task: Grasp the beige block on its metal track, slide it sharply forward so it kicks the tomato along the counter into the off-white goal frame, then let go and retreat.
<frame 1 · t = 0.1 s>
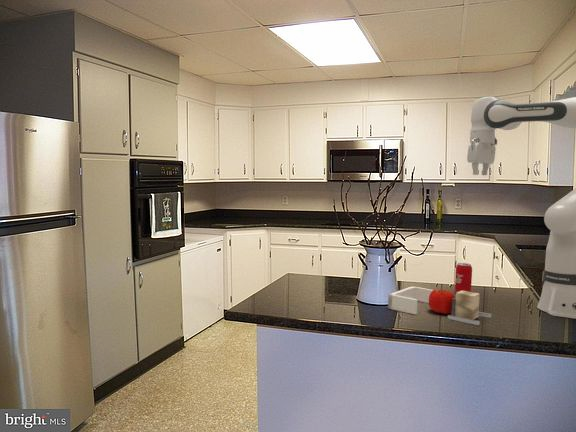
hand: (480, 175, 187), 48 cm above the counter, fingers open, 8 cm apart
beige block: (466, 304, 160), point 4 cm above the counter, slide at 0.0 cm
goal: (414, 306, 173), on the counter
track: (469, 318, 160), on the counter
beverage can: (462, 293, 194), on the counter
tomato: (440, 312, 166), on the counter
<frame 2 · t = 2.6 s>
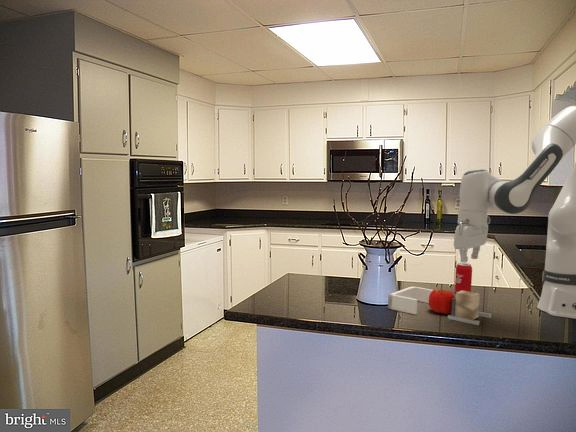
hand: (469, 260, 159), 19 cm above the counter, fingers open, 8 cm apart
nothing on the counter moved.
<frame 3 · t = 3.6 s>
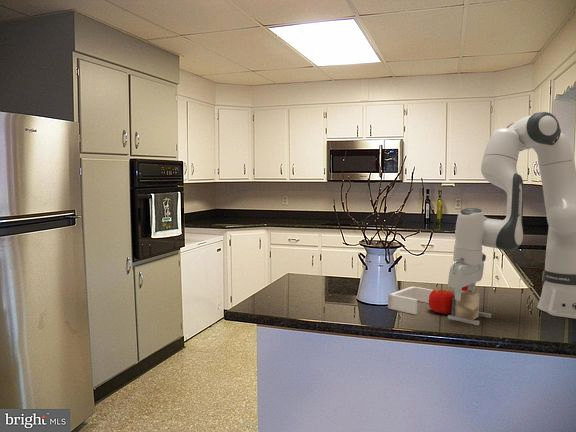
hand: (464, 297, 161), 7 cm above the counter, fingers open, 8 cm apart
nothing on the counter moved.
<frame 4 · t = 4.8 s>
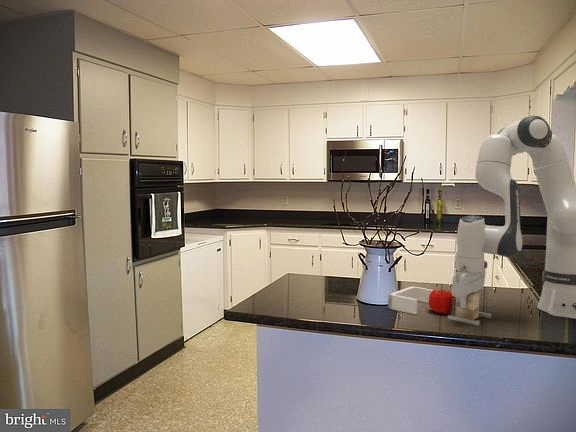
hand: (467, 305, 160), 4 cm above the counter, fingers closed on beige block, 5 cm apart
beige block: (466, 304, 160), point 4 cm above the counter, slide at 0.0 cm, touching gripper
everything else where it was.
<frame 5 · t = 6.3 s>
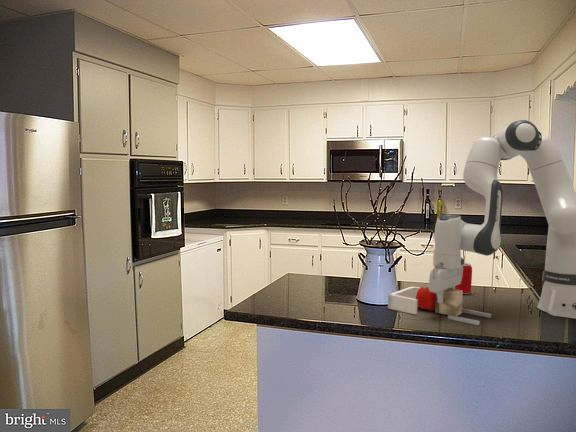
hand: (444, 301, 165), 4 cm above the counter, fingers closed on beige block, 5 cm apart
beige block: (449, 301, 164), point 4 cm above the counter, slide at 5.7 cm, touching gripper, tomato
tomato: (427, 309, 170), on the counter, touching beige block
everything else where it was.
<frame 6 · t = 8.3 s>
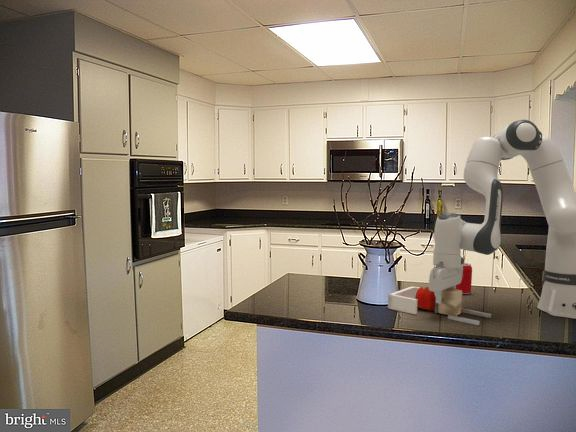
hand: (444, 300, 165), 4 cm above the counter, fingers open, 8 cm apart
beige block: (448, 301, 164), point 4 cm above the counter, slide at 5.9 cm
tomato: (427, 309, 170), on the counter
everything else where it was.
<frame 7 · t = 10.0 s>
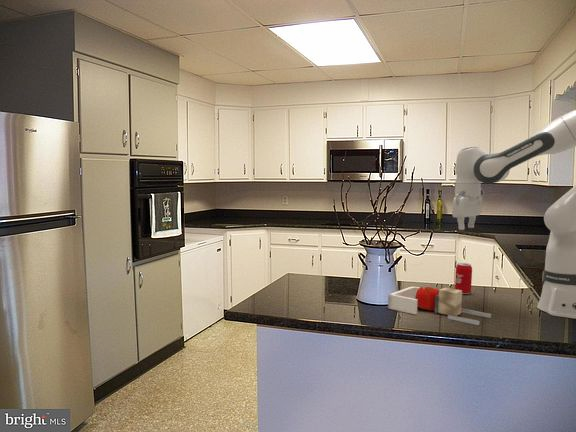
hand: (466, 228, 178), 28 cm above the counter, fingers open, 8 cm apart
nothing on the counter moved.
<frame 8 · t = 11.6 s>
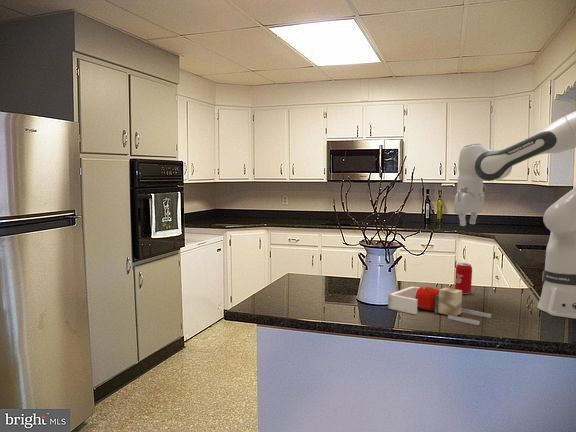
hand: (467, 224, 180), 29 cm above the counter, fingers open, 8 cm apart
nothing on the counter moved.
at the end: tomato inside the target area on the goal (4.2 cm from its centre), point 0.0 cm above the goal's base; beige block slide at 5.9 cm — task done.
